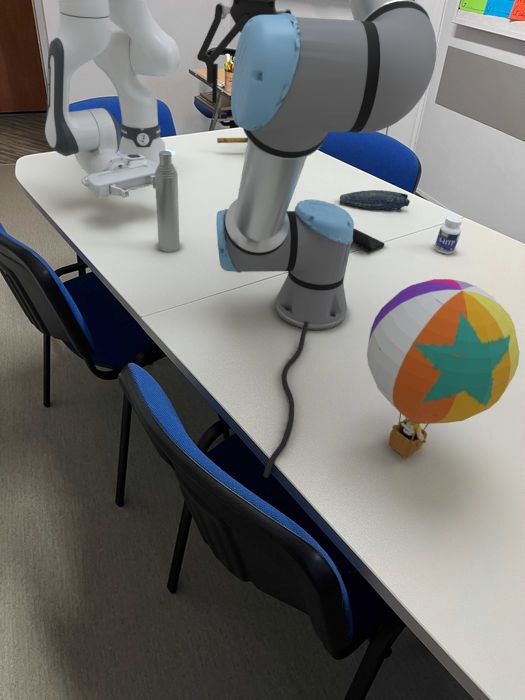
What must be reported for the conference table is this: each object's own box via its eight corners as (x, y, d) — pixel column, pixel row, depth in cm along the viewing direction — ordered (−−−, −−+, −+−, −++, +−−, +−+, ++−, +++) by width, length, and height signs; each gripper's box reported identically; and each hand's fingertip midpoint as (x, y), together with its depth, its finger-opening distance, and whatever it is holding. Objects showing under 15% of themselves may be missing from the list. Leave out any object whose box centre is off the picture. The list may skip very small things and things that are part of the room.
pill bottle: (433, 251, 139) (442, 220, 133) (435, 243, 143) (444, 213, 137) (453, 256, 138) (464, 225, 132) (454, 247, 142) (465, 217, 136)
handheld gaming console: (388, 238, 139) (380, 215, 131) (377, 260, 138) (367, 239, 130) (351, 229, 145) (341, 207, 137) (340, 251, 144) (328, 230, 136)
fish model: (408, 214, 157) (412, 198, 153) (339, 207, 158) (341, 191, 154) (406, 206, 162) (410, 190, 159) (339, 199, 163) (341, 183, 160)
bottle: (159, 252, 128) (154, 156, 113) (157, 243, 132) (152, 148, 117) (180, 251, 129) (178, 156, 114) (178, 241, 133) (175, 148, 118)
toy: (318, 439, 84) (351, 278, 65) (393, 389, 94) (440, 239, 76) (417, 524, 73) (492, 360, 54) (489, 457, 83) (573, 301, 65)
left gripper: (76, 167, 130) (103, 187, 122) (146, 153, 141) (175, 169, 134) (80, 192, 134) (106, 211, 127) (148, 175, 145) (176, 193, 138)
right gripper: (324, -22, 94) (309, 104, 107) (186, -34, 93) (188, 94, 106) (328, -19, 88) (311, 114, 101) (181, -32, 87) (183, 103, 100)
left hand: (142, 190), depth 130 cm, fingers open, 8 cm apart
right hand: (248, 104), depth 104 cm, fingers open, 13 cm apart
